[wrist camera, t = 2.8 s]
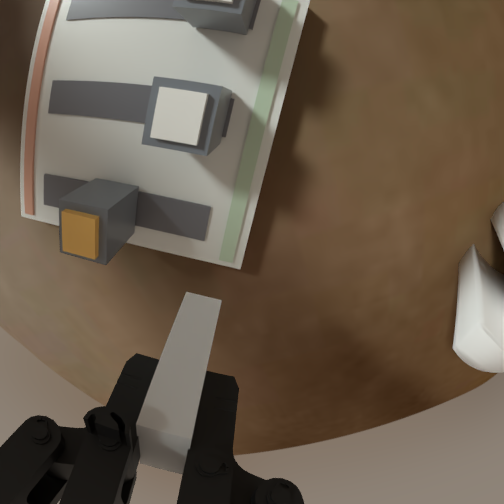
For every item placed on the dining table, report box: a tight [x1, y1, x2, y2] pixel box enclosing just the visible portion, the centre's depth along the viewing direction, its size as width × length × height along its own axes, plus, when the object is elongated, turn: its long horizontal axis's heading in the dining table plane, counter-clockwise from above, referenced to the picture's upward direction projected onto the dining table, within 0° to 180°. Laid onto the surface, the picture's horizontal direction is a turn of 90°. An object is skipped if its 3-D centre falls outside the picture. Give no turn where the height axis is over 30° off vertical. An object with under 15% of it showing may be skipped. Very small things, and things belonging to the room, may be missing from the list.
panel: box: [20, 0, 310, 269], centre depth 17 cm, size 20×20×7 cm
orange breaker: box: [59, 178, 139, 265], centre depth 19 cm, size 4×4×6 cm
